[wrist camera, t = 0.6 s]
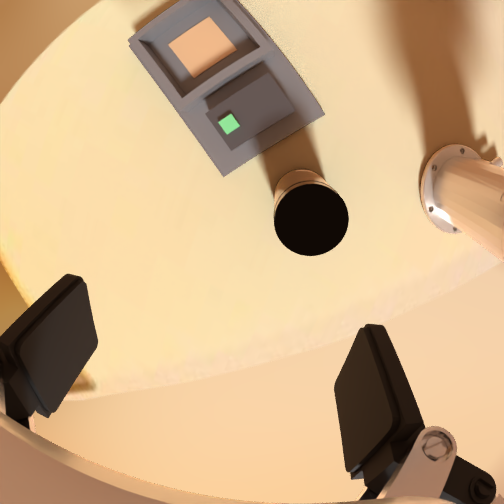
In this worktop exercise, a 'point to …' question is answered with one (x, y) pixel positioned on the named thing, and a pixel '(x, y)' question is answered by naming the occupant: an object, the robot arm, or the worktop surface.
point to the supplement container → (308, 213)
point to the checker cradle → (224, 79)
